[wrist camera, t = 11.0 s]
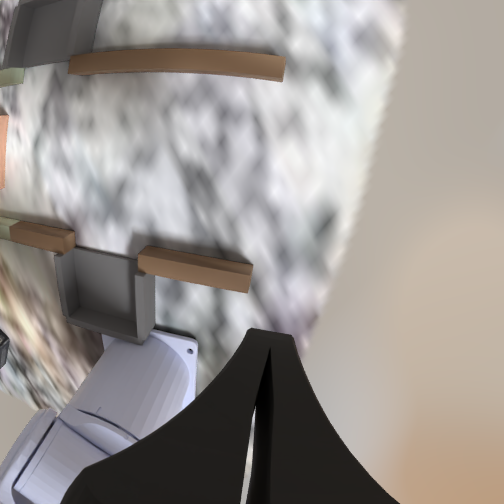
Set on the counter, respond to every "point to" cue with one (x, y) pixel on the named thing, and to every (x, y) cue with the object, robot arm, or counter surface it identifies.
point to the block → (3, 147)
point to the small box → (3, 348)
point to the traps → (78, 259)
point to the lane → (155, 60)
